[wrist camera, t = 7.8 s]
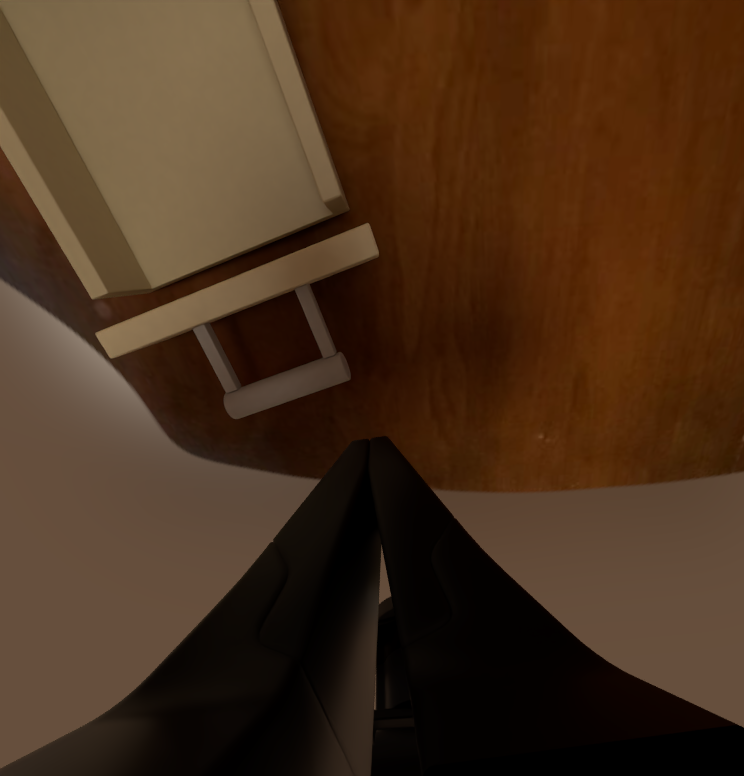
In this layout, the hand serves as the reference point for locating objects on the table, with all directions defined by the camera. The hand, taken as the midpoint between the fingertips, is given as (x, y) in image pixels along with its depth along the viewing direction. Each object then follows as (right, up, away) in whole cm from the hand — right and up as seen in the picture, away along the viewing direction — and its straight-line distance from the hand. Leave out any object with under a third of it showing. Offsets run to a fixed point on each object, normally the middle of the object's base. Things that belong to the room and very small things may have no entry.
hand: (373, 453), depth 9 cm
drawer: (-7, +11, +8) cm, 16 cm away
